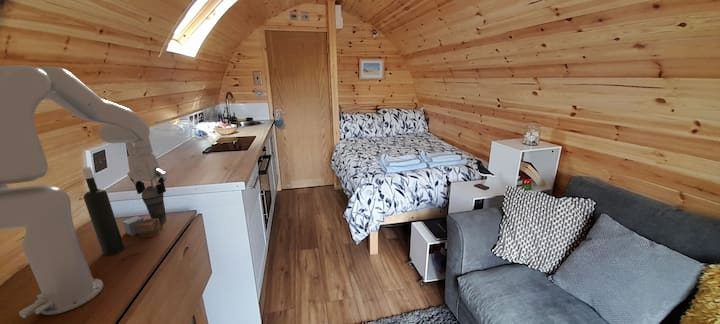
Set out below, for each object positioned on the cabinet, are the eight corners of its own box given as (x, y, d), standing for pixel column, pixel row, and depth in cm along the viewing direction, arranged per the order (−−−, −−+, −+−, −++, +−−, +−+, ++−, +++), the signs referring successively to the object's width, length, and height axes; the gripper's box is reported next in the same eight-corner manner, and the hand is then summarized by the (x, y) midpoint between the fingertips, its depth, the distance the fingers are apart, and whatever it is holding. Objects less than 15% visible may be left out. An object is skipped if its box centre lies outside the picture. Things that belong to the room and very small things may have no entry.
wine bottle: (99, 253, 100) (70, 169, 92) (118, 245, 105) (92, 164, 97) (108, 257, 98) (79, 171, 89) (128, 248, 103) (101, 165, 94)
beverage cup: (152, 219, 124) (140, 174, 118) (172, 216, 126) (160, 171, 120) (146, 227, 117) (132, 180, 112) (167, 223, 119) (154, 177, 114)
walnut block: (154, 236, 110) (150, 224, 108) (140, 237, 110) (136, 225, 108) (162, 229, 115) (158, 218, 113) (148, 231, 114) (145, 219, 113)
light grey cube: (132, 235, 111) (128, 224, 110) (126, 233, 114) (122, 221, 113) (146, 229, 115) (143, 218, 114) (140, 227, 118) (137, 216, 117)
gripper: (112, 154, 112) (125, 196, 116) (150, 153, 108) (162, 196, 113) (131, 149, 119) (142, 189, 123) (167, 148, 115) (177, 189, 120)
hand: (151, 192), depth 118 cm, fingers open, 9 cm apart
